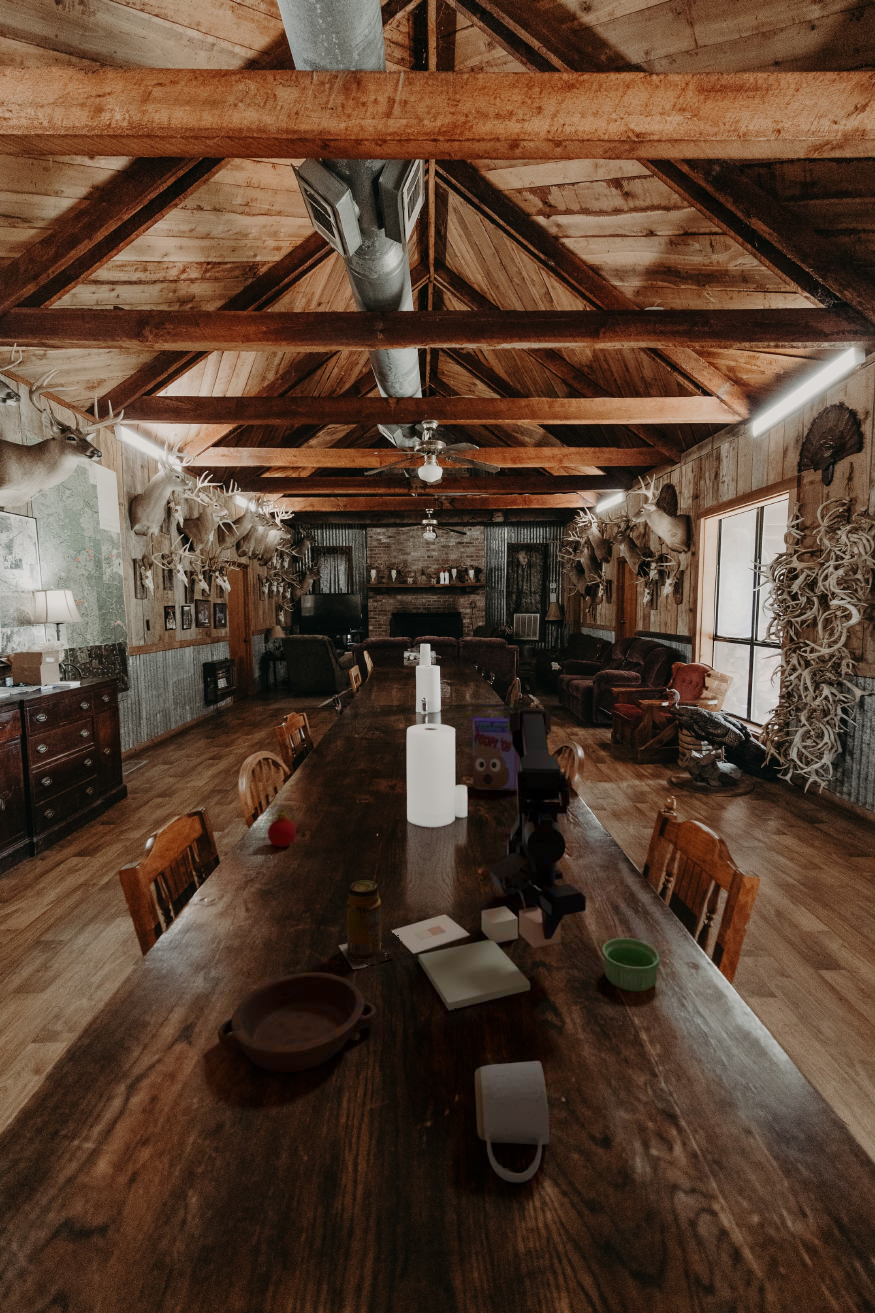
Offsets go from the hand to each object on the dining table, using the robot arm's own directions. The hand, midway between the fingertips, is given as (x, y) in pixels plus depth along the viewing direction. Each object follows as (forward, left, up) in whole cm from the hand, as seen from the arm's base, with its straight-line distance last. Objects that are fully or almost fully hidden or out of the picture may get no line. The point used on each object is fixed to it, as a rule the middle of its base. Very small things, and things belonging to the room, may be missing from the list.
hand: (539, 931), depth 102 cm
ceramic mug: (+19, +28, -7) cm, 35 cm away
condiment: (+26, -16, -7) cm, 31 cm away
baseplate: (+11, -3, -7) cm, 13 cm away
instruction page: (+13, -18, -7) cm, 23 cm away
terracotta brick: (0, 0, -1) cm, 1 cm away
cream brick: (+1, -13, -7) cm, 15 cm away
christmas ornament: (+34, -73, -7) cm, 81 cm away
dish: (+40, +2, -8) cm, 41 cm away
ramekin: (-13, +7, -7) cm, 17 cm away
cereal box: (-41, -98, -7) cm, 107 cm away
